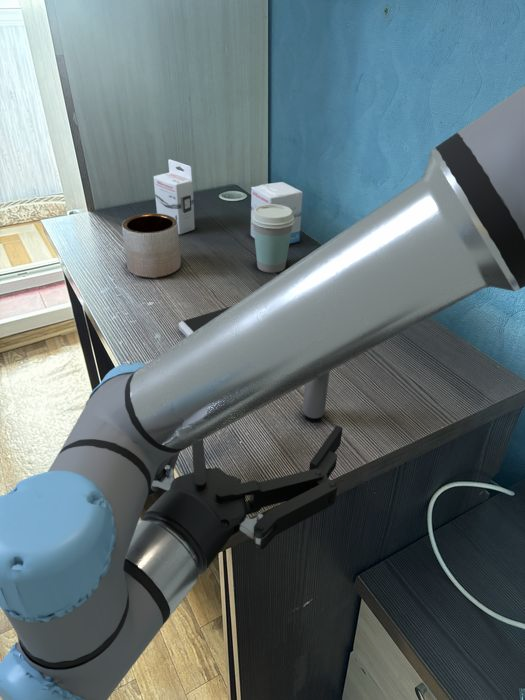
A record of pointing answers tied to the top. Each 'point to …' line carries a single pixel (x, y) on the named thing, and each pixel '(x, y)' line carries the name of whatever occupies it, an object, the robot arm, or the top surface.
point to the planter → (151, 245)
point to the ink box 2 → (279, 203)
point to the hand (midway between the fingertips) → (286, 412)
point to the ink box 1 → (176, 195)
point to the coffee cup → (272, 236)
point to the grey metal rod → (315, 398)
